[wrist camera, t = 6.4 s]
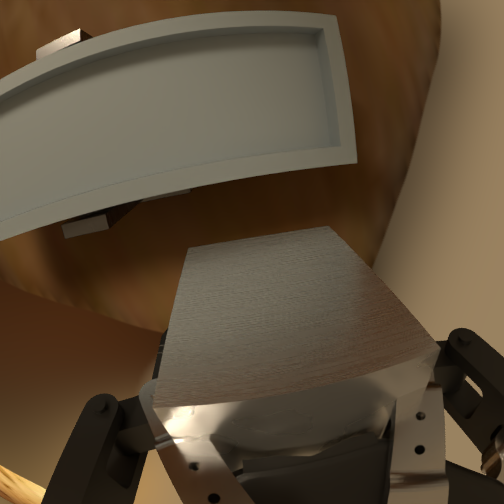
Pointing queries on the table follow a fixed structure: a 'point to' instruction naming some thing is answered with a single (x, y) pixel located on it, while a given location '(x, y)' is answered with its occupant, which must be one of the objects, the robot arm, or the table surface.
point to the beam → (171, 112)
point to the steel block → (285, 347)
